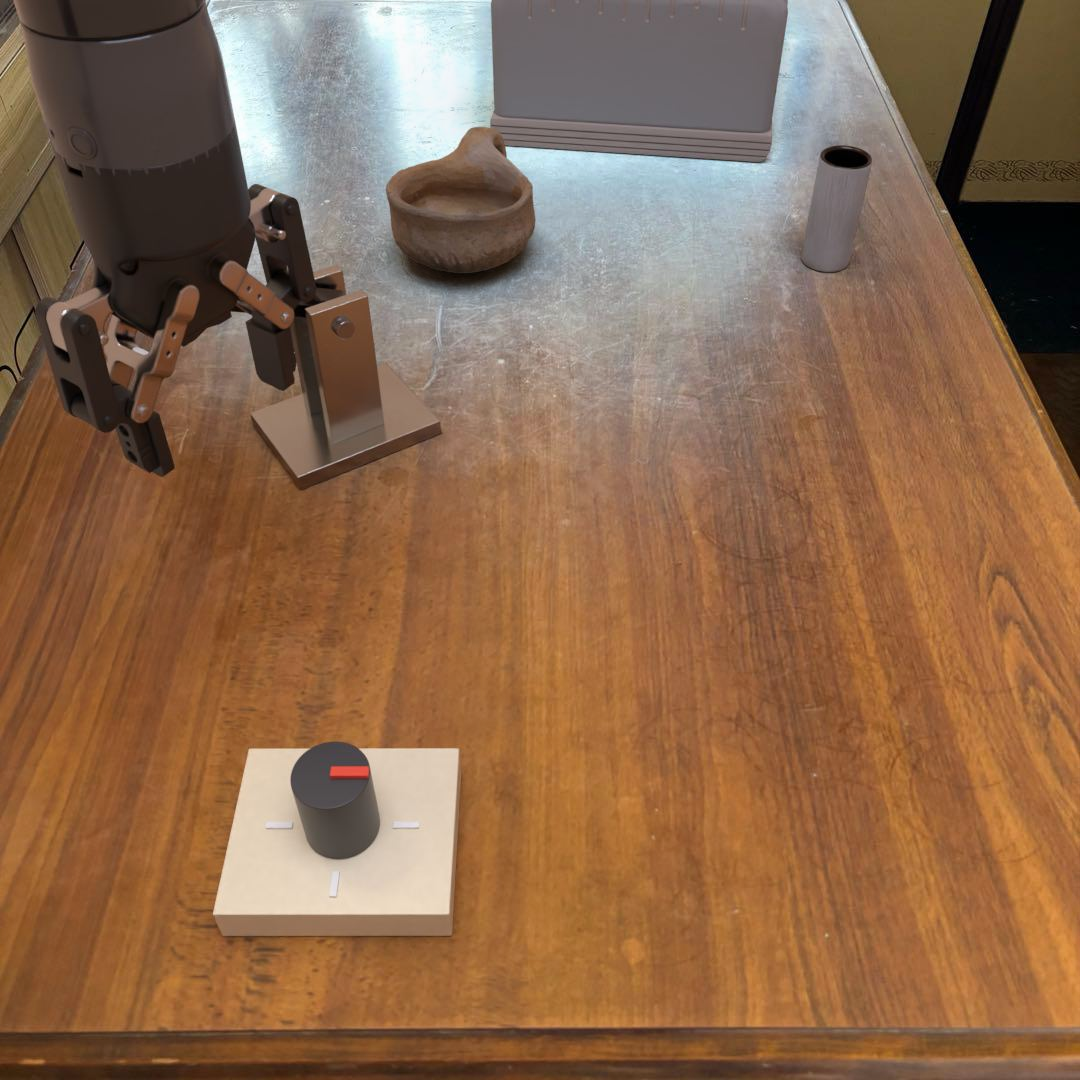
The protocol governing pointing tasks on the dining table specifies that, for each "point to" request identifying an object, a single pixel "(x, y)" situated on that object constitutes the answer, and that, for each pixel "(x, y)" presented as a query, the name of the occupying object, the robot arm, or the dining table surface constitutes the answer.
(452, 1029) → the dining table surface
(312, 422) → the bracket
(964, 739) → the dining table surface
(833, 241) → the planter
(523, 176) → the bowl
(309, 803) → the dial
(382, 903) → the dial panel
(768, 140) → the toaster
